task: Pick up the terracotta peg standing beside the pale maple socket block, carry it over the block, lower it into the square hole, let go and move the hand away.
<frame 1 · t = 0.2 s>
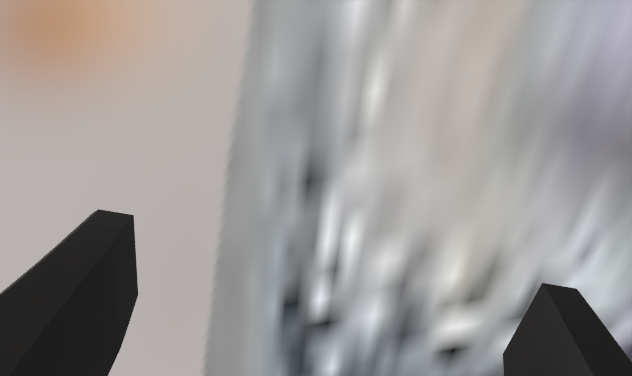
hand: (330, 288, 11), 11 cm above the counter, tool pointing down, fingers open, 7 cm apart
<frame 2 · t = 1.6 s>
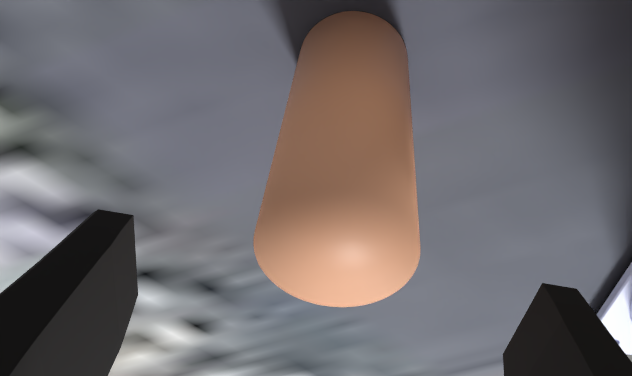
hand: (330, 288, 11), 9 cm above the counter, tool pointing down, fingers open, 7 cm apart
peg: (353, 63, 18), on the counter
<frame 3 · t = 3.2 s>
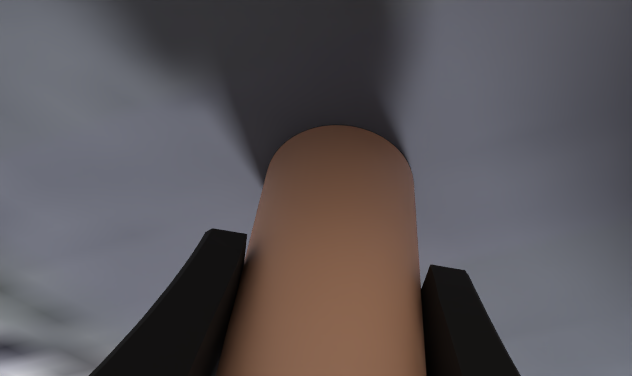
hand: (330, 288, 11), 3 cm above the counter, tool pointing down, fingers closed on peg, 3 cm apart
peg: (339, 188, 13), on the counter, touching gripper
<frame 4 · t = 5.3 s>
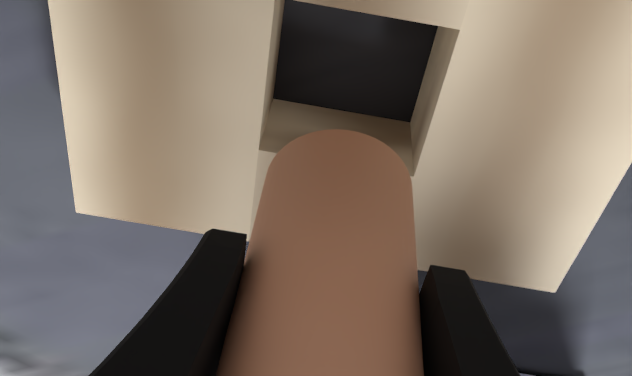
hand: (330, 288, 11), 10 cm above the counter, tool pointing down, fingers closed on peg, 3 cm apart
socket block: (354, 46, 19), on the counter
peg: (338, 191, 13), point 7 cm above the counter, touching gripper
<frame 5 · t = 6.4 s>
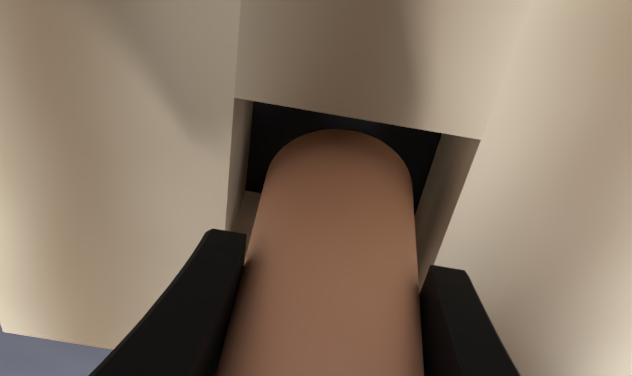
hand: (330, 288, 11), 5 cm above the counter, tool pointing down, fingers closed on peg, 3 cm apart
socket block: (344, 133, 15), on the counter
peg: (338, 191, 13), point 2 cm above the counter, touching gripper
when the fingers open (4 cm above the counter, at t = 7.5 s): peg stays where it is, resting in socket block.
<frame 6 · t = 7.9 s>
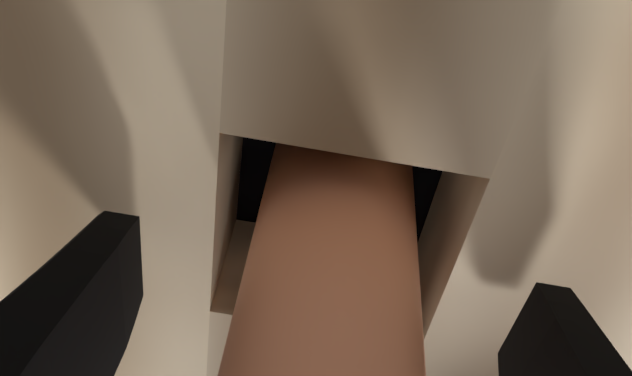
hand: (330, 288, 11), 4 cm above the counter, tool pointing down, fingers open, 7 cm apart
socket block: (341, 161, 14), on the counter
peg: (341, 164, 14), resting in socket block
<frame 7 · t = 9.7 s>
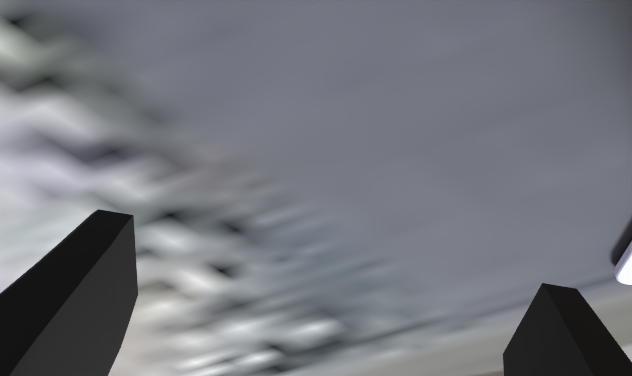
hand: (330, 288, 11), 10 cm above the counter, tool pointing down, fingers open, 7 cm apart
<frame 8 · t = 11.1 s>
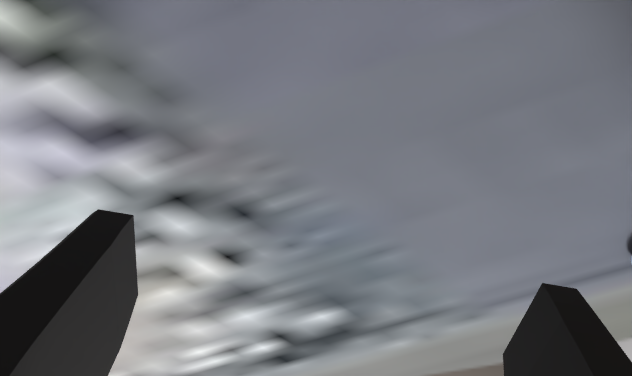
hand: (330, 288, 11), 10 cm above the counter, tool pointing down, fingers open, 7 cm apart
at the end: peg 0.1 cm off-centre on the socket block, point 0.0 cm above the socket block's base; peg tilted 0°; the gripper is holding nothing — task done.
